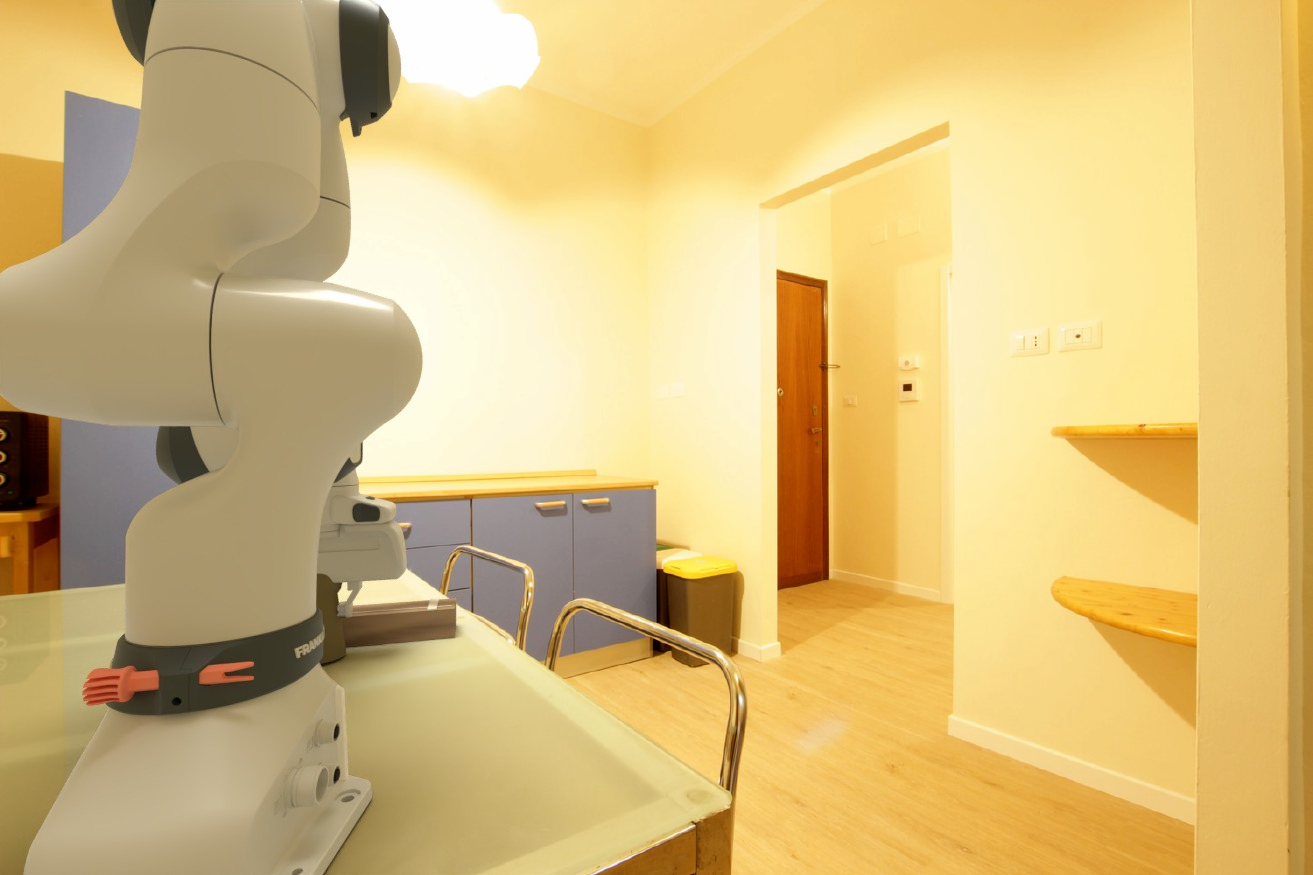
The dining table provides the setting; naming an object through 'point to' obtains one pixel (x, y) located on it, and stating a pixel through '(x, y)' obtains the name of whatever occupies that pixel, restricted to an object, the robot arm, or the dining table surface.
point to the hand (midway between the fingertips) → (319, 618)
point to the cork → (330, 618)
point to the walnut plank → (400, 622)
